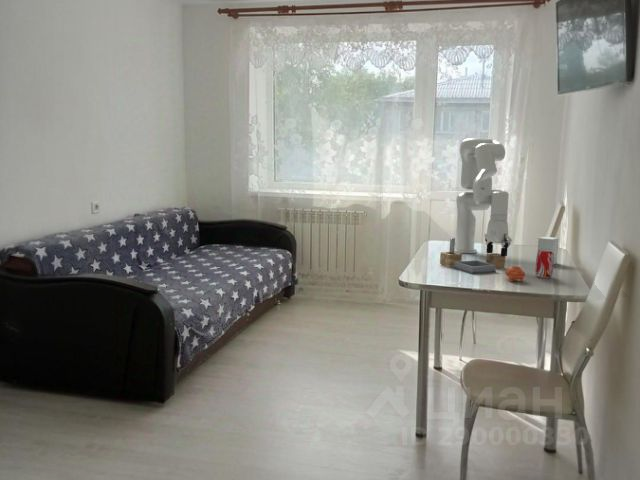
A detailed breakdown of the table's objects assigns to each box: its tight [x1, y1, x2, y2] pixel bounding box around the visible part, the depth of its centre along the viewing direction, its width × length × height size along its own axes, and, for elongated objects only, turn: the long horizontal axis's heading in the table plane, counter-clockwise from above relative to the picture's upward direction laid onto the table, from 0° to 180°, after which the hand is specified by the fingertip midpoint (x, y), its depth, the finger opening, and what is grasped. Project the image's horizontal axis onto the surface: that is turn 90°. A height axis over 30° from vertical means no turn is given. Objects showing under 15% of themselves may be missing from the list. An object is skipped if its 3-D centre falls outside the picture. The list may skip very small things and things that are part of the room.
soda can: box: [534, 249, 554, 279], centre depth 255 cm, size 7×7×12 cm
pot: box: [505, 265, 526, 283], centre depth 247 cm, size 8×8×7 cm
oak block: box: [439, 251, 463, 268], centre depth 277 cm, size 7×7×6 cm
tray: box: [453, 259, 497, 275], centre depth 267 cm, size 13×13×3 cm
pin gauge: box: [448, 237, 456, 254], centre depth 276 cm, size 2×2×12 cm
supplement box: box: [537, 236, 560, 265], centre depth 286 cm, size 7×7×13 cm
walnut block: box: [485, 252, 506, 270], centre depth 275 cm, size 6×6×6 cm
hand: (496, 254), depth 274 cm, fingers open, 9 cm apart
